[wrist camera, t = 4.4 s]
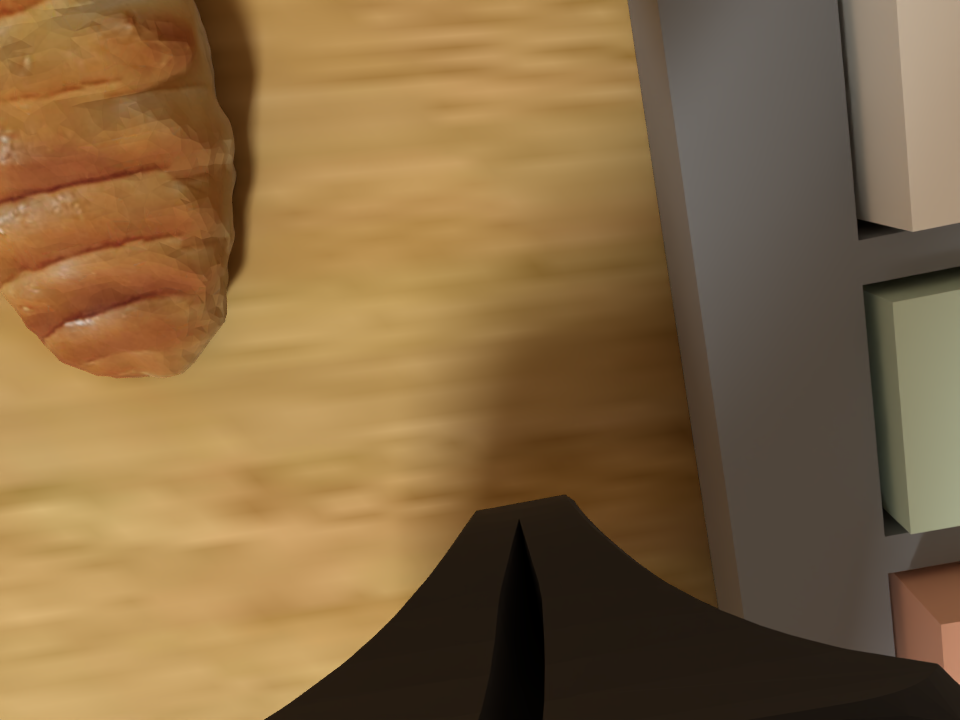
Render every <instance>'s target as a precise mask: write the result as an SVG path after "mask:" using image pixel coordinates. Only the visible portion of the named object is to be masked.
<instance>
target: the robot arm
mask: <svg viewBox="0 0 960 720" xmlns="http://www.w3.org/2000/svg"><path fill="white" fill-rule="evenodd" d="M265 720H960V684H958V683H957V682H956V681H955V680H954V679H953V678H952V677H951V676H950V675H949V674H948V673H947V672H946V671H945V670H944V669H943V668H942V667H941V666H940V665H939V664H937V663H931V662H925V661H918V660H912V659H906V658H900V657H894V656H887V655H881V654H875V653H869V652H862V651H856V650H850V649H845V648H840V647H836V646H832V645H828V644H824V643H820V642H816V641H812V640H808V639H805V638H801V637H797V636H793V635H789V634H786V633H783V632H780V631H777V630H773V629H770V628H767V627H764V626H761V625H758V624H756V623H753V622H750V621H748V620H745V619H743V618H740V617H737V616H735V615H732V614H730V613H727V612H725V611H722V610H720V609H717V608H715V607H713V606H711V605H709V604H706V603H704V602H702V601H700V600H698V599H696V598H694V597H692V596H691V595H689V594H687V593H685V592H683V591H681V590H679V589H677V588H676V587H674V586H672V585H670V584H668V583H666V582H665V581H663V580H661V579H660V578H659V577H657V576H656V575H654V574H653V573H651V572H650V571H649V570H647V569H646V568H644V567H643V566H642V565H640V564H639V563H638V562H636V561H635V560H634V559H632V558H631V557H630V556H629V555H627V554H626V553H625V552H624V551H623V550H622V549H620V548H619V547H618V546H617V545H616V544H615V543H613V542H612V541H611V540H610V539H609V538H608V537H606V536H605V535H604V534H603V533H602V532H601V531H600V530H599V529H598V528H597V527H596V526H595V525H594V524H593V523H592V522H591V521H590V520H589V519H588V518H587V517H586V515H585V514H584V513H583V512H582V511H581V510H580V508H579V507H578V506H577V504H576V503H575V501H574V500H572V499H571V498H569V497H568V496H566V495H561V496H555V497H550V498H544V499H539V500H534V501H528V502H523V503H517V504H512V505H506V506H501V507H496V508H490V509H485V510H479V511H476V512H475V514H474V515H473V516H472V518H471V519H470V520H469V522H468V523H467V524H466V526H465V527H464V529H463V530H462V532H461V533H460V534H459V536H458V537H457V539H456V540H455V542H454V543H453V545H452V546H451V547H450V549H449V550H448V552H447V553H446V554H445V556H444V557H443V559H442V560H441V561H440V563H439V564H438V565H437V567H436V568H435V569H434V571H433V572H432V573H431V575H430V576H429V577H428V578H427V580H426V581H425V582H424V583H423V584H422V585H421V586H420V588H419V589H418V590H417V591H416V592H415V593H414V595H413V596H412V597H411V598H410V599H409V600H408V601H407V603H406V604H405V605H404V606H403V607H402V608H401V610H400V611H399V612H398V613H397V614H396V615H395V616H394V617H393V618H392V619H391V620H390V621H389V622H388V623H387V624H386V625H385V626H384V627H383V628H382V629H381V630H380V631H379V632H378V633H377V634H376V635H375V636H374V637H373V638H372V639H371V640H370V641H368V642H367V643H366V644H365V645H364V646H363V647H362V648H361V649H360V650H358V651H357V652H356V653H355V654H354V655H353V656H352V657H351V658H349V659H348V660H347V661H346V662H344V663H343V664H342V665H341V666H340V667H338V668H337V669H336V670H334V671H333V672H331V673H330V674H329V675H327V676H326V677H325V678H323V679H322V680H321V681H319V682H318V683H317V684H315V685H314V686H313V687H311V688H310V689H308V690H307V691H306V692H304V693H303V694H302V695H300V696H299V697H298V698H296V699H295V700H294V701H292V702H291V703H289V704H288V705H286V706H285V707H283V708H282V709H280V710H279V711H277V712H276V713H274V714H273V715H271V716H269V717H268V718H266V719H265Z"/></svg>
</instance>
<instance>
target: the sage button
mask: <svg viewBox="0 0 960 720" xmlns="http://www.w3.org/2000/svg"><path fill="white" fill-rule="evenodd" d="M863 296H864V308H865V319H866V330H867V341H868V353H869V364H870V375H871V387H872V398H873V409H874V420H875V432H876V443H877V454H878V466H879V477H880V488H881V500H882V507H883V508H884V509H885V510H886V511H887V512H888V513H889V514H890V515H891V516H892V517H893V518H894V519H895V520H896V521H897V522H899V523H900V524H901V525H902V526H903V527H904V528H905V529H906V530H907V531H908V532H909V533H910V534H916V533H922V532H927V531H933V530H939V529H944V528H950V527H956V526H960V266H958V267H953V268H948V269H943V270H938V271H932V272H927V273H922V274H917V275H912V276H907V277H902V278H897V279H892V280H887V281H881V282H876V283H871V284H866V285H863Z"/></svg>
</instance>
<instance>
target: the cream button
mask: <svg viewBox="0 0 960 720" xmlns="http://www.w3.org/2000/svg"><path fill="white" fill-rule="evenodd" d="M837 3H838V14H839V25H840V36H841V48H842V59H843V70H844V82H845V93H846V104H847V116H848V127H849V138H850V149H851V161H852V172H853V183H854V195H855V206H856V217H857V219H860V220H865V221H869V222H873V223H877V224H882V225H886V226H890V227H894V228H898V229H903V230H907V231H911V232H915V231H920V230H925V229H930V228H935V227H940V226H945V225H950V224H955V223H960V0H837Z"/></svg>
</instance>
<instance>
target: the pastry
mask: <svg viewBox="0 0 960 720" xmlns="http://www.w3.org/2000/svg"><path fill="white" fill-rule="evenodd" d="M214 79H215V77H214V68H213V64H212V59H211V49H210V45H209V42H208V39H207V35H206V30H205V28H204V26H203V24H202V22H201V17H200V13H199V11H198V8H197V6H196V4H195V2H194V0H0V292H2V294H3V295H4V297H5V298H6V300H7V301H8V302H9V303H10V304H11V305H12V306H13V307H14V308H15V310H16V311H17V313H18V314H19V316H20V317H21V318H22V320H23V321H24V323H25V325H26V327H27V328H28V329H29V330H31V331H32V332H33V333H35V334H36V335H37V336H38V338H39V339H40V340H41V341H42V343H43V344H44V345H45V346H46V347H47V348H48V349H49V350H50V351H51V352H52V353H53V354H54V355H55V356H56V357H57V358H58V359H59V360H60V361H61V362H63V363H65V364H67V365H70V366H73V367H76V368H78V369H81V370H84V371H86V372H89V373H92V374H94V375H97V376H111V377H114V378H134V377H146V376H153V377H157V378H165V377H171V376H175V375H178V374H181V373H183V372H185V371H186V370H187V369H188V368H189V367H190V366H191V365H192V364H193V363H194V362H195V361H196V359H197V358H198V357H199V355H200V354H201V353H202V351H203V350H204V348H205V347H206V345H207V344H208V343H209V341H210V340H211V339H212V338H213V336H214V335H215V334H216V332H217V331H218V330H219V329H220V327H221V326H222V324H223V323H224V322H225V318H226V315H227V298H226V289H227V285H228V280H229V273H228V265H227V263H228V259H229V255H230V252H231V249H232V245H233V242H234V239H235V230H234V226H233V207H232V195H233V189H234V185H235V182H236V170H235V167H234V165H233V159H234V153H235V145H234V136H233V131H232V126H231V124H230V121H229V119H228V118H227V116H226V115H225V113H224V112H223V110H222V109H221V107H220V105H219V103H218V101H217V98H216V90H215V80H214Z"/></svg>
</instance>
